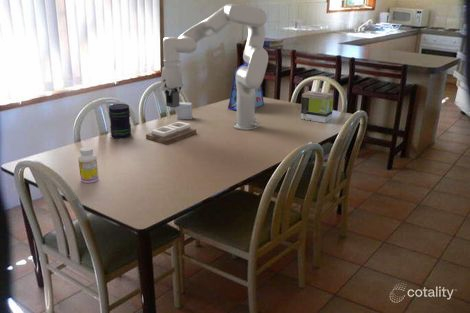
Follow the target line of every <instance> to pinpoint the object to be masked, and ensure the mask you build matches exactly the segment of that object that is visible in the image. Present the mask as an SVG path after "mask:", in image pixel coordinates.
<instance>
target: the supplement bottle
mask: <svg viewBox="0 0 470 313" xmlns="http://www.w3.org/2000/svg"><path fill="white" fill-rule="evenodd" d="M79 153H80V154H79V156H78V157H77V158H78V159H77V161H78V168H79V175H80V176H79V177H80V180H81V182H82V183H85V184H88V183H89V184H91V183H95V182H97V181H99V180H100V176H99V168H98V158H97V154H95V153H94V148H93V147H91V146H84V147H80V148H79Z"/></svg>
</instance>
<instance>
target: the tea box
mask: <svg viewBox="0 0 470 313" xmlns="http://www.w3.org/2000/svg"><path fill="white" fill-rule="evenodd" d="M300 106H301V107H300V108H301V111H300V120H304V119H305V120H306V121H310V120H311V121H312V122H316V123H317V122H318V123H324V124H325V123H328V122H330V121H331V120H332V118H333V106H334V93H330V92H329V93H328V92H320V91H312V90H308V91H306V92H304V93H302V94H301V104H300Z"/></svg>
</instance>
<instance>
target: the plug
mask: <svg viewBox="0 0 470 313" xmlns="http://www.w3.org/2000/svg"><path fill="white" fill-rule="evenodd" d="M171 95H172V103H167V101H166V100H165V102H166V103H165V105H166V107H169V108H177V107H178V106H179V102H180V93H179V92H176V91H175V89H174V88H172V89H171Z"/></svg>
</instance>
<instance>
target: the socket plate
mask: <svg viewBox="0 0 470 313" xmlns="http://www.w3.org/2000/svg"><path fill="white" fill-rule="evenodd" d="M190 128H191V123H188V122H184V121H180V120H179V121H176V122H173V123H170V124H167V125H166V126H165V125H164V126H160V127H157V128H154V129H152V130H151V133H152V135H153V136H156V137H160V138H166V137H169V136H172V135H175V134H177V133H180V132H183V131H186V130H189V129H190Z"/></svg>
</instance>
